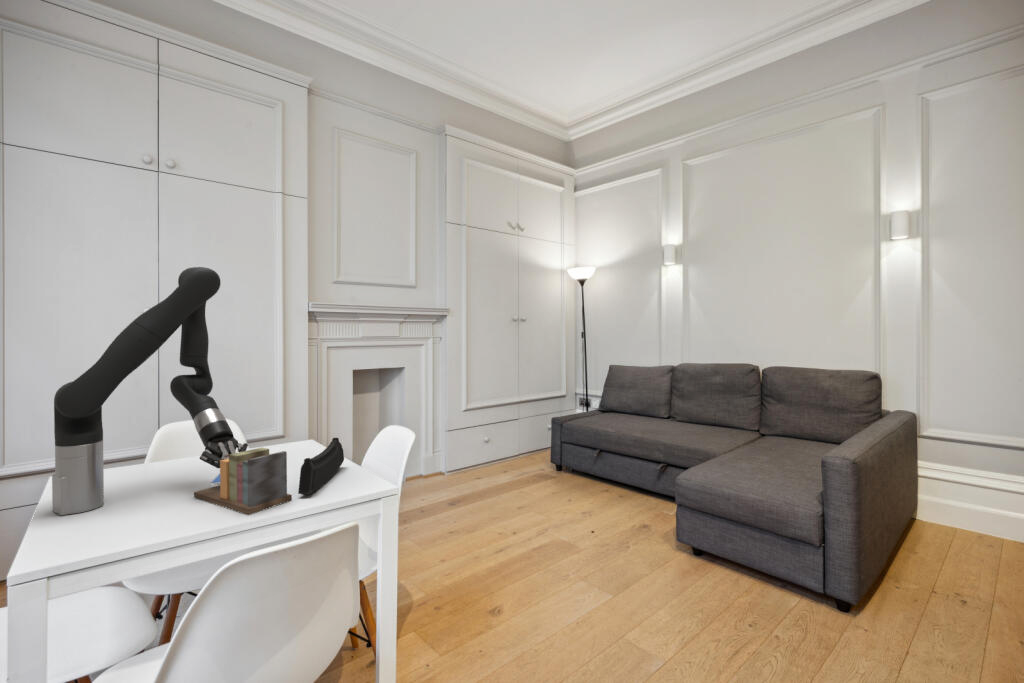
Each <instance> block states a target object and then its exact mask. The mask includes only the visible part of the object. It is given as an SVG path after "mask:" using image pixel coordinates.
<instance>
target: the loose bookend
mask: <svg viewBox="0 0 1024 683" xmlns="http://www.w3.org/2000/svg"><path fill="white" fill-rule="evenodd" d="M219 474H220V484H219V485H220V498H223V499H226V500H227V499H229V459H225V460H220V468H219Z"/></svg>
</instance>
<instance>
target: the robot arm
mask: <svg viewBox="0 0 1024 683" xmlns="http://www.w3.org/2000/svg"><path fill="white" fill-rule="evenodd" d="M177 282H178V283H177V284H178V286H177V287H176V288H175V289H174V290H173V291H172V292H171V294H169V295H168V296H167V297H166V298H165V299H163V300H162V301H160V302H158V303H157V304H156V305H154V306H152V307H151V308H149V309H147V310H146V311H144V312H142V314H140V315H138V316H137V317H136V318H134V320H132V321H131V322H130V323H129V324H128V325H127V326H126V327H125V328H124V329H122V331H120V333H119V334H118V335H117V336H116V337H115V338H114V339H113V340H112V342H111V343H110V344H109V345H108V346H107V348H106V349H105V351H104V352H103V354H102V355H101V356H100V357H99V358H98V360H97V361H96V362H95V363H94V364H92V365H91V366H90V367H89V368H88V369H87V370H86V371H85V372H83V373H82V374H81V375H79V376H78V377H77V378H76V379H74V380H73V381H70V382H67V383H65V384H64V385H62V386H60V387H59V388H58V390H56V392H55V395H54V398H53V415H54V416H53V418H54V419H53V421H54V423H53V424H54V426H53V428H54V432H53V433H54V466H55V467H54V472H55V473H53V474H52V476H51V484H52V485H51V489H52V490H51V492H52V494H51V496H52V497H51V498H52V499H51V500H52V505H51V507H52V512H53V511H54V512H53V513H55V512H56V513H55V514H57V513H58V514H57V515H59V516H61V515H62V516H66V515H73V514H79V513H83V512H84V513H85V512H88V511H92V510H95V509H98V508H100V507H101V506H103V505H104V503H105V502H104V501H105V494H104V493H105V492H104V491H105V490H104V489H105V486H104V480H105V478H104V428H103V408H102V406H103V405H104V403H105V402H106V401H107V400H108V398H109V397H110V396H111V394H113V393H114V391H115V390H116V389H117V387H119V386H120V385H121V383H122V382H123V381H124V380H125V379H126V378H127V377H128V376H130V375H131V374H132V373H133V372H134V371H135V370H137V369H138V368H139V367H140V366H141V365H143V364H144V363H145V362H146V361H147V360H148V359H149V358H150V357H152V356H153V355H154V354H155V353H156V352H157V351H158V350H159V349H160V348H161V347H162V346H163V344H165V343H166V342H167V341H168V340H169V338H170V337H171V336H172V335H173V334H174V333H175V332H176V331H177V330H178V329H179V328H180V327H181V332H180V334H181V336H180V346H179V347H180V348H179V364H180V365H181V366H182V367H186V368H187V367H188V368H192V369H193V370H194V371H195V374H193V373H192V374H179V375H176V376H175V377H173V378H172V380H171V381H170V383H169V389H170V392H171V394H172V396H173V397H174V399H175V400H176V401H177V402H178V403H179V404H180V405H181V406H182V407H183V408H184V409H186V410H187V411H188V412H189V414H190V416H191V418H192V421H193V424H194V427H195V428H194V429H196V432H197V434H198V436H199V438H200V440H201V442H202V444H203V447H204V451H202V452H201V454H200V455H199V456H200V457H199V460H201V461H203V462H204V463H207V464H209V465H211V466H212V467H214V468H217V469H220V460H225V459H229V455H230V454H234V453H239V452H244V451H247V449H248V446H249V445H248V443H247V442H244V443H243V444H242V443H239V442H238V439H236V438H235V437H234V434H233V431H232V429H231V427H230V425H229V423H228V421H227V419H226V417H225V416H224V414H223V413H222V412H221V410H220V408H219V406H218V404H217V402H216V400H215V399H214V398H213V397H212V396H209V395H210V394H211V392H212V390H213V387H214V382H213V379H212V373H211V371H210V367H209V361H208V359H209V358H208V356H209V342H210V340H209V332H208V326H207V319H206V306H207V302H208V301H209V300H210V299H212V298H213V297H214V296H215V295H216V294H217V293H218V292H219V289H220V288H221V278H220V275H219V274H218V273H217V272H216V270H213V269H212V268H209V267H203V266H198V267H197V266H196V267H195V266H194V267H187V268H186V269H184V270H183V271H182V272H180V274H179V275H178V281H177ZM236 450H237V452H236Z"/></svg>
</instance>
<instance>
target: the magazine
mask: <svg viewBox="0 0 1024 683" xmlns="http://www.w3.org/2000/svg"><path fill="white" fill-rule="evenodd" d="M344 460H345V456H344V448H343V446H342V443H341V442H340V439H339V437H333V438H332V440H331V441H330V443H329V445H328V446H326V447H325V449H323V450H322V451H321V452H320V453H319V454H317V455H315V456H314V457H312V458H310V457H306V458H304V459H303V463H302V465H301V467H300V472H299V473H300V474H299V482H298V491H297V492H298V494H299V495H308V494H309V495H310V494H311V493H313V492H315V491H317V490H319V489H320V488H322V487H324V486H325V485H326V484H327V483H329V482H330V481H331V479H332V478H333V477H334V476H335V475H336V473H337V472H338V471H339V469H340V468H341V466H342V465H343V463H344ZM337 470H338V471H337ZM324 484H325V485H324ZM323 485H324V486H323Z"/></svg>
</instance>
